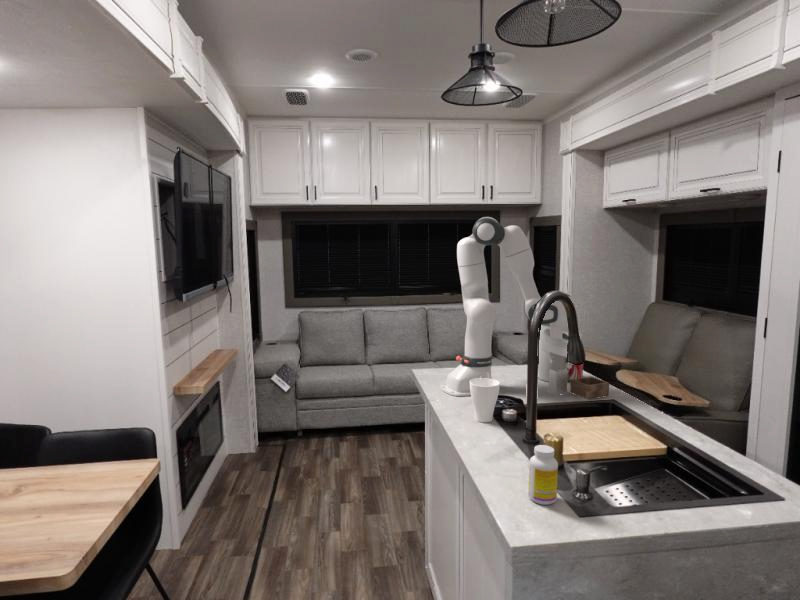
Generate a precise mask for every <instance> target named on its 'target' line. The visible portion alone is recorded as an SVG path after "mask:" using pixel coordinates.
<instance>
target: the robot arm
mask: <svg viewBox="0 0 800 600" xmlns="http://www.w3.org/2000/svg"><path fill="white" fill-rule="evenodd" d="M491 245H492V246H493V245H497V246H498V247H499V248H500V250H501V252H502V255H503V258H504V260H505V263H506V265H507V267H508V269H509V270H510V272H511V274H512V275H513V276H514V278H515V279H516V280H517V282H518V286H519V288H520V292H521V294H522V297H523V301H524V302H523V313H524V315H525V317H526V318H527V319H528V320H530V319H531V316H532V313H533V310H534V307H535V305H536V304H537V302H538V301H539V300H540V299H541V298H542V297H541V295H540V293H539V292H538V291H539V290H538V288H537V286H536V282H535V280H534V275H533V273H534V272H533V271H534V267H535V259H534V258H535V257H534V254H533V250H532V247H531V244H530V242H529V240H528V238H527V236H526V234H525V233H524V231H523V229H522V228H521V227H520V226H519V225H513V224H511V225H508V226H502V225H501V224H500V223H499V222H498V220H496V219H495V218H493V217H492V216H491V217H490V216H483V217H481V218H479V219H478V220H476V222H475V223H474V225H473V227H472V233H471V235H469V236H467V237H463V238H462V239H460V240H459V241H458V243H457V245H456V259H457V260H456V261H457V267H458V273H459V280H460V285H461V287H460V288H461V294H462V295H461V296H462V297H461V298H462V304H463V311H464V314H465V315H466V327H465V335H464V354H463V356H460V355H457V356H456V358H455V360H456V361H458V362H460V364H458V366H456V368H454V369H453V370H452V371H451V372H450V373H448V375H447V378H446V382H445V384H441V385H440V390H441V391H442V392H444V393H446V394H448V395H451V396H453V397H467V396H469V397H471V392H470V380H472V379H476V378H489V379H493V377H492V365H493V356H492V339H493V338H492V337H493V331H494V324H495V323H494V322H495V316H496V312H495V311H496V310H495V306H494V305H493V303H492V302H491V301H490V297H489V286H488V285H489V281H488V280H489V279H488V273H487V268H486V261H485V255H484V254H485V253H484V251H485V247H486V246H491ZM565 294H566V295H567V296H569V298H570V299H571V301H572V303H573V304H574V301H573V297H572V296H571V295H569V293H565ZM549 323H550V330H549V329H546V330H545V331H544V333H543V337H542V345H541V348H542V350H543V351H547V352H548V356H549V358H550V363H555V359H554V356H553V354H557V355H560V356H564V357H566V358H567V343H568V326H567V318H566V312H565V309H564V307H563V305H562V304H561V303H560V302H559V301H555V302H554V303H552V304H551V305H550V307H549V308H548V310H547V311H546V313H545V316H544V318H543V321H542V324H541V325H543V324H549ZM579 336H580V340H582V339H583V334H582V333H581V332H579ZM566 368H568V369H571V368H572V364H571V363H569V362H568V364H566Z"/></svg>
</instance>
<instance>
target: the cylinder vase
mask: <svg viewBox="0 0 800 600" xmlns="http://www.w3.org/2000/svg"><path fill="white" fill-rule="evenodd" d="M546 329H549V330H550V323H549V324H543V325H541V330H540V340H539V379H538V380H540V381H543V382H548V383H549V377H550V369H556V368H563V369H566V363H567V357H564V356H560V355H557V354H553V356H554V359H555V363H550V358H549V356H548V352H547V351H543V350H542V348H541V345H542V337H543V333H544V331H545V330H546Z"/></svg>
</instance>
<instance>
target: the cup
mask: <svg viewBox="0 0 800 600" xmlns="http://www.w3.org/2000/svg"><path fill="white" fill-rule="evenodd" d="M500 386H501V383H500V381H498V380H497V379H494V378H492V379H489V378H476V379H472V380H470V392H471V396H470V398H471V402H472V406H473V411H474V420H475V421H477V422H478V423H490V422H492V421H493V417H494V411H495V407H496V403H497V401H498V398H499V397H498V396H499V392H500Z"/></svg>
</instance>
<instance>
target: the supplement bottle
mask: <svg viewBox="0 0 800 600" xmlns="http://www.w3.org/2000/svg"><path fill="white" fill-rule="evenodd" d="M533 453H534V455H533V456H531V457H530V458H529V469H528V470H529V474H528V497H529V499H530V500H531V501H532V502H534V503H536V504H539V505H544V506H546V505H547V506H548V505H552V504H555V503H556V501H557V496H558V475H559V474H558V472H559V471H558V470H559V463H558V461H557V459H556V458H555V449H554V447H552V446H550V445H546V444H538V445H535V446H534V449H533Z"/></svg>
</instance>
